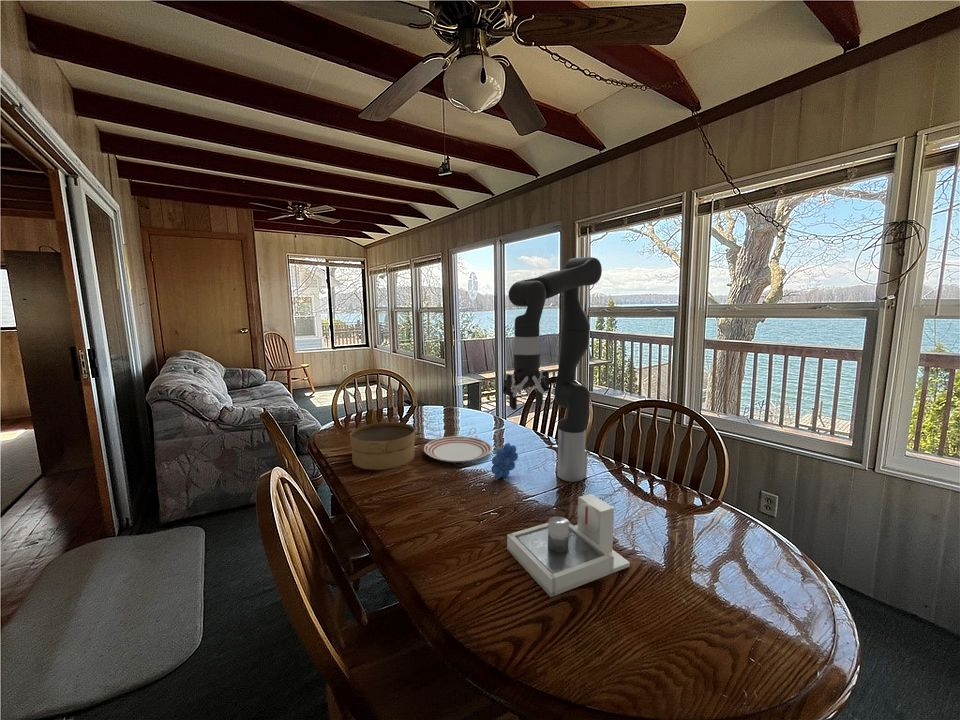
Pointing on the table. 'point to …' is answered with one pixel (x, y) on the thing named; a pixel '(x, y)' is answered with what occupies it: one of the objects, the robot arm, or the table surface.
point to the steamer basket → (382, 445)
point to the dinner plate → (457, 449)
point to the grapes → (504, 460)
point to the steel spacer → (558, 534)
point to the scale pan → (558, 560)
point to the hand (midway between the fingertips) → (526, 407)
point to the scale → (592, 530)
